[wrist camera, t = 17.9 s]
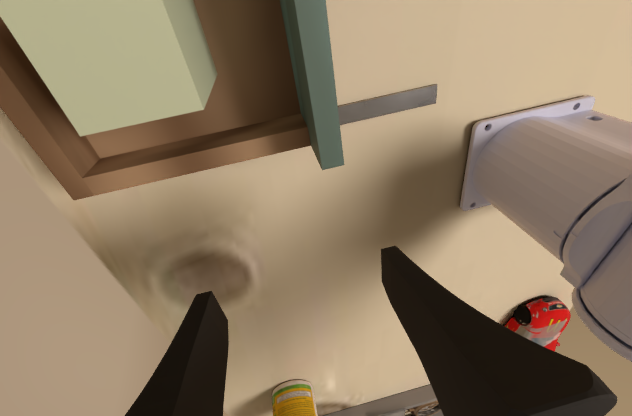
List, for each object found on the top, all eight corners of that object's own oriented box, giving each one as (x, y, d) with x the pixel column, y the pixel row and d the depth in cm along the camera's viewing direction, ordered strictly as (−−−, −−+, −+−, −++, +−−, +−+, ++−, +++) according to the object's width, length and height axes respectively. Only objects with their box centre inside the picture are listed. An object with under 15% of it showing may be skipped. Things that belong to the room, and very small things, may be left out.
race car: (526, 290, 37) (560, 324, 33) (565, 290, 39) (601, 323, 35) (464, 363, 46) (485, 397, 42) (498, 360, 47) (521, 393, 43)
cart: (261, -217, 11) (276, -430, 6) (317, 129, 19) (346, 180, 14) (-108, -162, 10) (-513, -350, 5) (112, 175, 18) (55, 250, 13)
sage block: (183, -29, 12) (143, -49, 7) (217, 74, 15) (203, 109, 10) (85, -10, 12) (-23, -18, 7) (135, 91, 14) (80, 136, 10)
